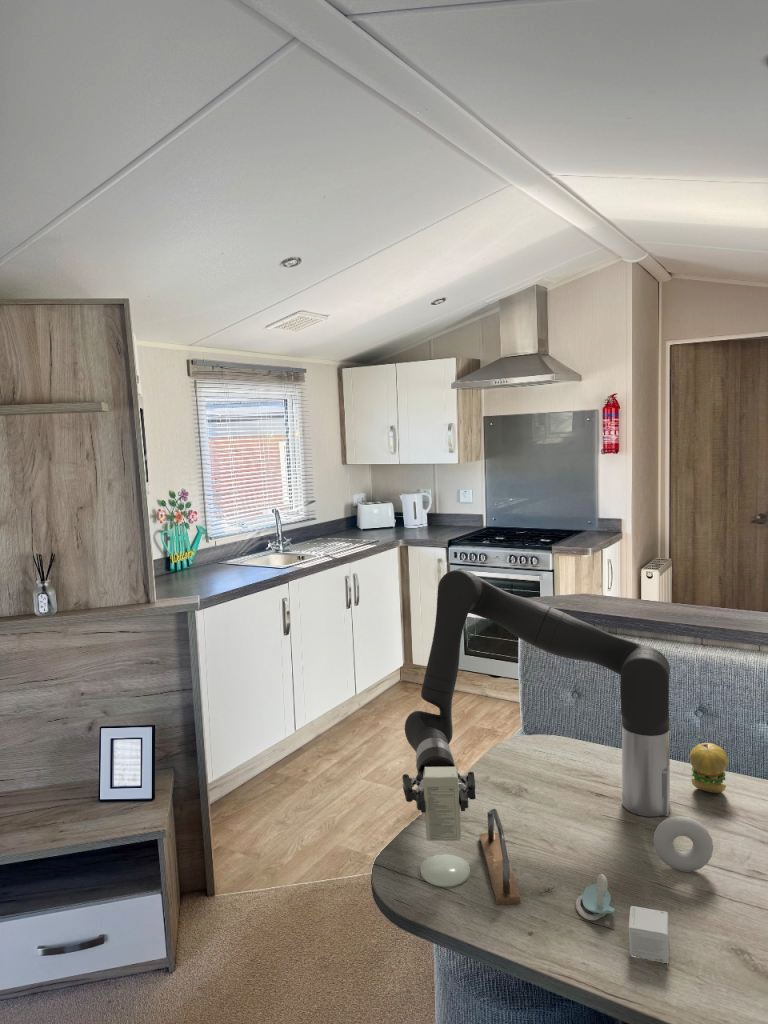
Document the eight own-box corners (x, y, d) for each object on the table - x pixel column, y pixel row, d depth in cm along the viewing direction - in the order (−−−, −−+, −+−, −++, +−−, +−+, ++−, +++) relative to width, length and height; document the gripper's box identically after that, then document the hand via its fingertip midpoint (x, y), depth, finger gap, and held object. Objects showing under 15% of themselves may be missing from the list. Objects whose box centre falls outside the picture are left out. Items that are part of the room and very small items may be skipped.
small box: (630, 933, 117) (630, 904, 117) (669, 940, 115) (669, 911, 114) (628, 957, 112) (628, 927, 111) (668, 966, 110) (668, 935, 109)
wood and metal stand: (479, 839, 145) (478, 791, 144) (499, 838, 145) (498, 790, 144) (497, 904, 125) (495, 849, 124) (520, 903, 125) (519, 848, 124)
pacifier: (579, 925, 120) (617, 925, 119) (577, 888, 119) (616, 888, 118) (572, 896, 127) (608, 896, 126) (571, 862, 126) (607, 862, 126)
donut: (711, 867, 133) (712, 815, 132) (714, 879, 130) (715, 825, 129) (652, 861, 136) (652, 809, 135) (653, 872, 132) (653, 819, 131)
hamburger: (730, 789, 160) (730, 736, 159) (725, 805, 154) (726, 749, 153) (691, 782, 164) (692, 730, 163) (686, 796, 158) (686, 743, 157)
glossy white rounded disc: (476, 863, 137) (476, 860, 137) (461, 891, 129) (461, 888, 129) (430, 853, 141) (430, 850, 141) (413, 880, 133) (413, 877, 133)
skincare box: (460, 828, 136) (459, 765, 135) (460, 842, 132) (459, 777, 130) (425, 827, 137) (424, 765, 135) (424, 841, 133) (422, 776, 131)
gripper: (398, 747, 147) (402, 788, 131) (470, 744, 147) (483, 785, 131) (399, 782, 148) (403, 828, 132) (471, 780, 148) (484, 825, 132)
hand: (443, 807), depth 131 cm, fingers closed on skincare box, 6 cm apart
